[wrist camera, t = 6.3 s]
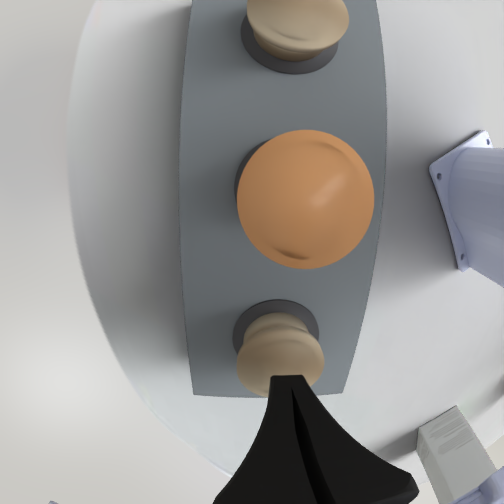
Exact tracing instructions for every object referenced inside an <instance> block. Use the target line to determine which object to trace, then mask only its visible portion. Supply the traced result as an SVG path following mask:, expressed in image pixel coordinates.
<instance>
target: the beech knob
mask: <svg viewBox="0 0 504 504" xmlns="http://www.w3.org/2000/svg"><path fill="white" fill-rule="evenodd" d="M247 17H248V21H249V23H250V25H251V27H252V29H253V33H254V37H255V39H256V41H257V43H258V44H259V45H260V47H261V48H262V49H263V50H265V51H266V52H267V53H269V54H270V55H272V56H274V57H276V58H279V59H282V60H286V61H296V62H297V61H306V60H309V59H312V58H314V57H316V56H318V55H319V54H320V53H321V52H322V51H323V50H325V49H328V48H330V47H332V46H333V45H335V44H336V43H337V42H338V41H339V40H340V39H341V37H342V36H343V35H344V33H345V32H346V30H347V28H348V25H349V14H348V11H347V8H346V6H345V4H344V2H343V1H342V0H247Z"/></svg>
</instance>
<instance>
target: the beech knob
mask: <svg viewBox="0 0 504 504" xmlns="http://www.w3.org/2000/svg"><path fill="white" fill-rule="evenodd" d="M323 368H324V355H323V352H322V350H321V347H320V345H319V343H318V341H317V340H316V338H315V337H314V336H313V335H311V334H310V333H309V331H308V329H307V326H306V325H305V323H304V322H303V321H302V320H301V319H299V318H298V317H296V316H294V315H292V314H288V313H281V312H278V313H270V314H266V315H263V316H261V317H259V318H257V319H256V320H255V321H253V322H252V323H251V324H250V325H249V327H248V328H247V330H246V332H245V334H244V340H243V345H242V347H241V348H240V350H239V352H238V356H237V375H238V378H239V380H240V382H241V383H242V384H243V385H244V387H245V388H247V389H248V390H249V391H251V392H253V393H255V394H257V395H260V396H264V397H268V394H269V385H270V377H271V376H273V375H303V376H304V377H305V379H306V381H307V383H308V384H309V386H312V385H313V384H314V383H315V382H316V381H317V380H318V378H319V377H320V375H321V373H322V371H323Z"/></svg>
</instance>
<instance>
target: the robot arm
mask: <svg viewBox="0 0 504 504" xmlns="http://www.w3.org/2000/svg"><path fill="white" fill-rule="evenodd" d="M486 141H487V142H486ZM429 171H430V175H431V177H432V180H433V182H434V185H435V188H436V191H437V193H438V196H439V199H440V202H441V205H442V208H443V211H444V215H445V218H446V221H447V225H448V228H449V232H450V235H451V239H452V243H453V247H454V251H455V255H456V260H457V264H458V269H459V270H460V271H461V272H464V271H466V270H467V269H468V268H469V267H470V268H472V269H474V270H476V271H477V272H479V273H481V274H482V275H484V276H486V277H487V278H489V279H491V280H492V281H494V282H496V283H497V284H499V285H500V286H502V287H503V288H504V148H493V146H492V143H491V140H490V137H489V134H488V132H487V131H485V130H483V131H480V132H479V133H477V134H476V135H474V136H473V137H471V138H470V139H468V140H467V141H465V142H464V143H462V144H461V145H459V146H458V147H456V148H455V149H453V150H452V151H450V152H449V153H447V154H446V155H444V156H442V157H441V158H439V159H438V160H436V161H435V162H433V163H432V164H431V165H430V167H429ZM437 174H439V178H438V179H437ZM461 255H462V256H461ZM418 493H419V489H418V487H417V484H416V482H415V480H414V479H413V477H412V475H411V473H408V472H406V471H404V470H402V469H399V468H397V467H395V466H393V465H391V464H389V463H388V462H386V461H384V460H382V459H381V458H379V457H378V456H376V455H375V454H373V453H372V452H370V451H369V450H368V449H366V448H365V447H363V446H362V445H361V444H360V443H359V442H357V441H356V440H355V439H354V438H353V437H352V436H350V435H349V434H348V433H347V432H346V431H345V430H344V429H343V428H342V427H341V426H340V425H339V424H338V423H337V421H336V420H335V419H334V418H333V417H332V416H331V415H330V413H329V412H328V411H327V410H326V408H325V407H324V406H323V404H322V403H321V402H320V401H319V399H318V398H317V396H316V395H315V393H314V392H313V390H312V389H311V387H310V386H309V384H308V383H307V381H306V379H305V377H304V376H303V375H273V376H271V377H270V385H269V394H268V404H267V408H266V412H265V415H264V418H263V421H262V423H261V426H260V429H259V431H258V433H257V436H256V438H255V440H254V442H253V444H252V446H251V448H250V450H249V452H248V453H247V455H246V457H245V459H244V460H243V462H242V464H241V465H240V467H239V468H238V469H237V471H236V472H235V474H234V475H233V477H232V478H231V480H230V481H229V482H228V483H227V485H226V486H225V487H224V488H223V489H222V490H221V492H220V493H219V494H218V495H217V496H216V498H215V500H214V502H213V504H409V503H410V502H411V501H412V500H414V499H415V498H416V497H417V495H418ZM49 504H57V503H55V502H53V501H50V502H49ZM448 504H504V466H503V467H502V468H500V469H499V470H498V471H496V472H495V473H493V474H492V475H490V476H489V477H488V478H487V479H485V480H484V481H483V482H482V483H481V484H480V485H479V486H478V487H476V488H475V489H473V490H471V491H470V492H468V493H466V494H465V495H463V496H461V497H459V498H458V499H456V500H454V501H452V502H450V503H448Z"/></svg>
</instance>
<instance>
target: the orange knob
mask: <svg viewBox="0 0 504 504" xmlns="http://www.w3.org/2000/svg"><path fill="white" fill-rule="evenodd" d="M237 208H238V214H239V218H240V222H241V225H242V227H243V229H244V231H245V233H246V235H247V237H248V238H249V240H250V241H251V243H252V244H253V245H254V246H255V247H256V248H257V249H258V250H259V251H260V252H261V253H262V254H263V255H265V256H266V257H267V258H269V259H270V260H272V261H274V262H276V263H278V264H281V265H284V266H286V267H291V268H296V269H314V268H320V267H324V266H327V265H330V264H332V263H334V262H336V261H338V260H340V259H342V258H343V257H345V256H346V255H347V254H348V253H350V252H351V251H352V250H353V249H354V248H355V247H356V246H357V245H358V243H359V242H360V241H361V240H362V238H363V236H364V235H365V233H366V231H367V229H368V227H369V225H370V222H371V218H372V215H373V209H374V188H373V184H372V179H371V177H370V174H369V171H368V169H367V167H366V165H365V163H364V162H363V160H362V159H361V157H360V156H359V155H358V154H357V153H356V151H355V150H354V149H353V148H352V147H350V146H349V145H348V144H347V143H345V142H344V141H342V140H341V139H339V138H337V137H335V136H333V135H331V134H328V133H325V132H321V131H316V130H296V131H291V132H287V133H284V134H281V135H279V136H276V137H275V138H273V139H271V140H269V141H268V142H266V143H265V144H264V145H263V146H261V147H260V148H259V149H258V150H257V151H256V152H255V153H254V154H253V156H252V157H251V158H250V160H249V161H248V163H247V165H246V166H245V168H244V170H243V173H242V175H241V178H240V181H239V186H238V192H237Z"/></svg>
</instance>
